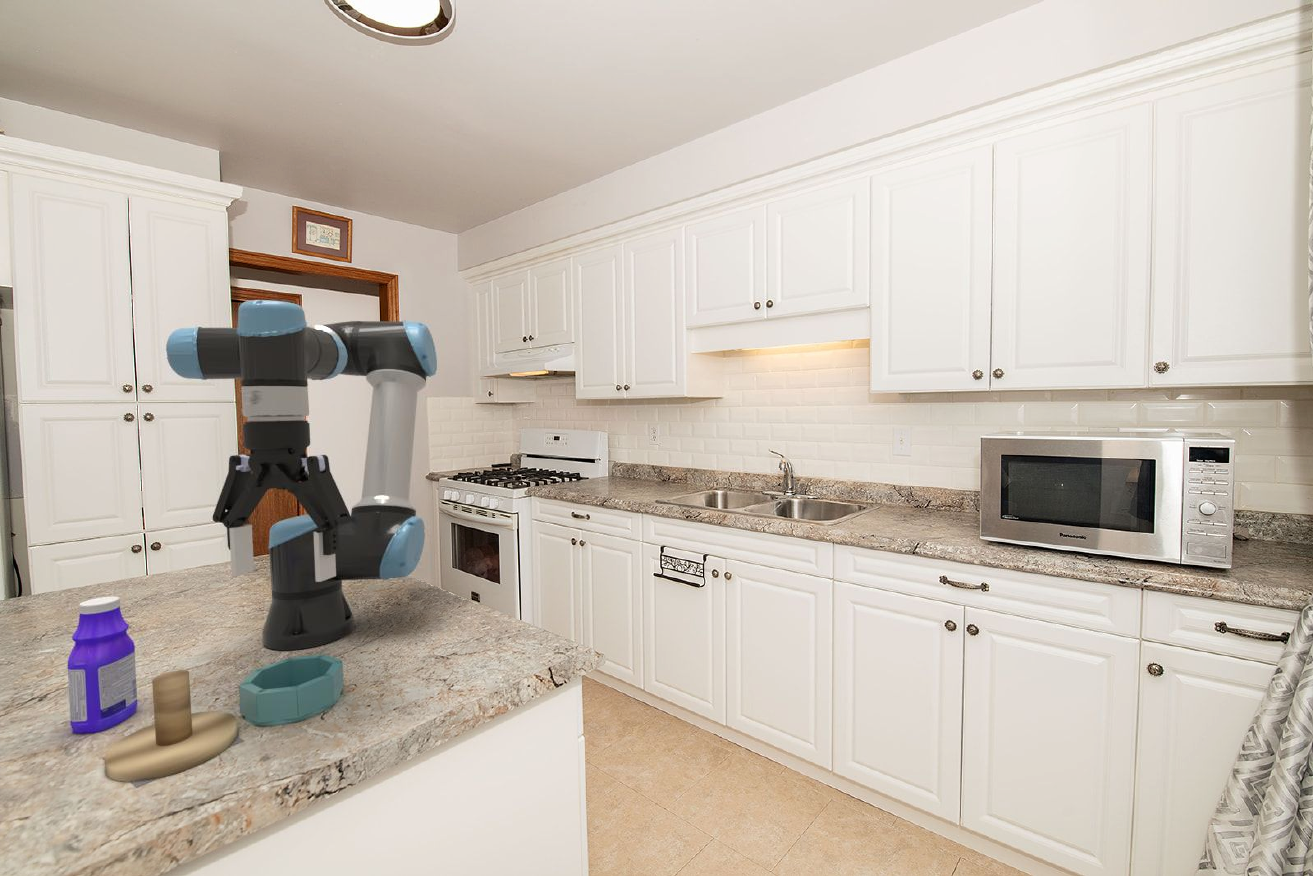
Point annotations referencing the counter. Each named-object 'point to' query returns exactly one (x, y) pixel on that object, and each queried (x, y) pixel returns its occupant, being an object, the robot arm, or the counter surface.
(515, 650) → the counter surface
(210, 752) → the lid
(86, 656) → the bottle
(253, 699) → the bowl
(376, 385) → the robot arm
